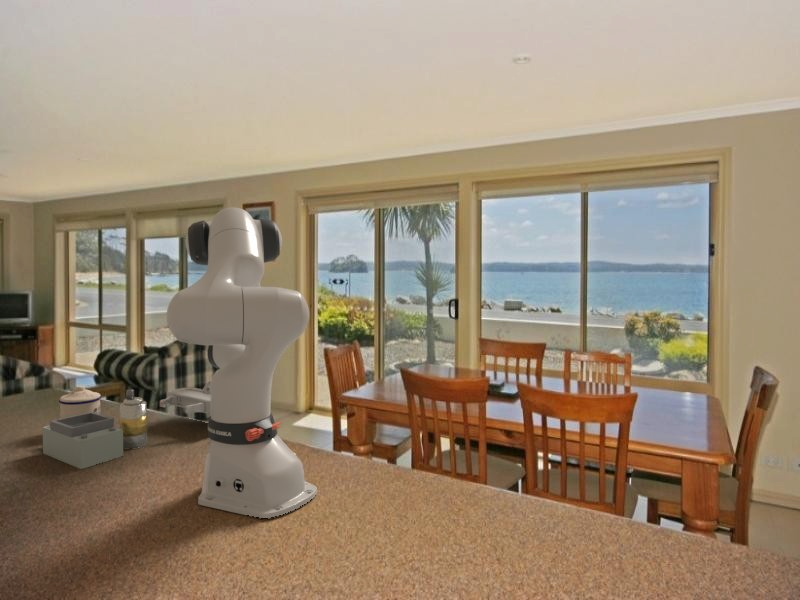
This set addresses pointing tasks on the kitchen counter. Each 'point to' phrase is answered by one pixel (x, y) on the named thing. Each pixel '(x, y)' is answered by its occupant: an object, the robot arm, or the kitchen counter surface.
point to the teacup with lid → (79, 402)
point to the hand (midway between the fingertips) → (172, 406)
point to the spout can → (133, 421)
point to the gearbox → (83, 440)
